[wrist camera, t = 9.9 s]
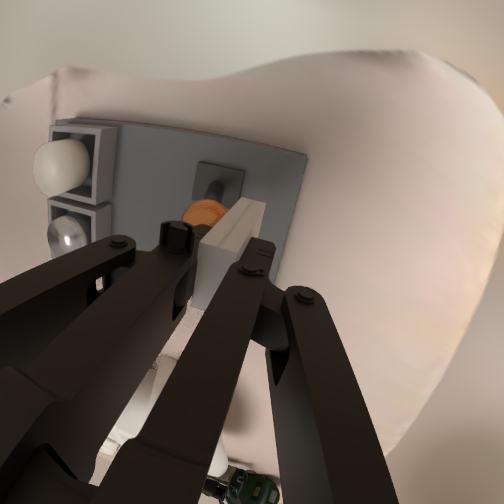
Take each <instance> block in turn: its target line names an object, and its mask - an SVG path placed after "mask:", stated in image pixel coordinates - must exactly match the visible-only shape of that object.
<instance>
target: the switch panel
mask: <svg viewBox="0 0 504 504" xmlns="http://www.w3.org/2000/svg"><path fill="white" fill-rule="evenodd" d="M69 138H75V139H78V140H80V141H81V142H82V143H83V144H84V145H85V147H86V148H87V151H88V153H89V158H90V170H89V174H88V177H87V179H86V180H85V182H84V183H83V184H82V185H80V186H79V187H76V188H74V189H71V190H69V191H66V192H64V193H61V194H59V195H56V196H53V197H51V198H49V199H47V201H48V222H49V225H50V223H51V222H52V221H53V220H55V219H57V218H59V217H61V216H63V215H65V214H67V213H69V212H71V211H74V212H78V213H82V214H85V215H89V216H91V235H92V243H93V242H95V241H98V240H100V239H103V238H105V237H108V236H112V235H118V234H120V235H126V236H128V237H131V238H133V239H134V240H135V241H136V250H141V251H152V250H153V249H154V248H155V247H156V246H158V245H159V237H160V226H161V223H162V222H165V221H170V220H176V221H180V220H181V217H182V214H183V212H184V211H185V209H186V208H187V207H188V206H189V205H190V204H192V203H193V202H195V201H197V200H201V199H203V198H204V195H205V193H206V190H207V188H208V185H209V184H210V183H211V182H212V181H220V182H221V183H222V184H223V185H224V194H223V200H222V205H223V206H225V207H226V209H227V210H228V211H229V210H230V209H231V208H232V207H233V206H234V205H235V204H236V203H237V202H238V201H239V200H240V198H241V197H244V198H248V199H252V200H256V201H259V202H263V203H266V206H265V210H264V214H263V218H262V222H261V226H260V231H259V235H258V238H259V239H263V240H266V241H270V242H273V243H274V245H275V247H276V252H275V255H274V259H273V263H272V266H271V270H270V273H269V279H270V281H271V282H272V284H273V283H274V279H275V276H276V272H277V269H278V265H279V262H280V258H281V255H282V251H283V248H284V244H285V241H286V237H287V234H288V230H289V226H290V223H291V219H292V215H293V212H294V208H295V204H296V201H297V197H298V193H299V189H300V186H301V182H302V178H303V174H304V170H305V167H306V163H307V155H304V154H301V153H297V152H293V151H289V150H285V149H281V148H277V147H273V146H269V145H264V144H260V143H255V142H251V141H246V140H241V139H237V138H232V137H227V136H221V135H216V134H211V133H205V132H199V131H193V130H187V129H180V128H173V127H166V126H159V125H151V124H142V123H133V122H123V121H112V120H99V119H82V118H71V119H61V120H56V125H51V126H50V129H49V142H53V141H58V140H64V139H69ZM51 256H52V258H53V259H55V258H57V257H56V256H55V255H54V253H53V252H52V250H51Z"/></svg>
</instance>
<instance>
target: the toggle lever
mask: <svg viewBox="0 0 504 504" xmlns="http://www.w3.org/2000/svg"><path fill="white" fill-rule="evenodd" d="M223 194H224V185H223V184H222V183H221V182H220V181H212V182H211V183H210V184H209V185H208V188H207V190H206V193H205V195H204V198H203V199H201V200H197V201H195V202H193V203H192V204H190V205H189V206H188V207H187V208H186V209H185V211H184V212H183V214H182V217H181V220H180V221H183V222H187V223H190V224H192V225H193V226H196V225H199V224H204V225H208V226H212V227H214V226H215V225H216V224H217V223H218V221H219V220H220V219H221V218H222V217H223V216H224V215H225V214H226V213H227V212H228V210H227V209H226V207H225V206H223V205H222V200H223Z"/></svg>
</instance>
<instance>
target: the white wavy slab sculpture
mask: <svg viewBox="0 0 504 504" xmlns="http://www.w3.org/2000/svg"><path fill="white" fill-rule="evenodd" d="M176 363H177V362H176V361H175V360H174V359H172V358H170V357H168V356H164V355H161V358H160V362H159V365H158V369H157V370H155V369H152V368H150V369H149V371H148V372H147V374H146V375H145V377H144V378H143V380H142V382H141V383H140V385H139V386H138V388H137V390H136V391H135V393H134V394H133V396H132V398H131V399H130V401H129V402H128V404H127V406H126V407H125V409H124V411H123V412H122V414H121V415H120V417H119V419H118V420H117V422H116V423H115V425H114V427H113V428H112V430H111V432H110V433H109V435H108V438H110V439H113V440H115V441H116V442H118V443H119V444H120V445H121V446H122V445H123V444H124V443H125V442H126V441H127V440H128V439H130V438H134V437H136V436H137V435H138V433H139V432H140V430H141V428H142V426H143V425H144V423H145V421H146V419H147V417H148V415H149V413H150V411H151V410H152V408H153V406H154V404H155V402H156V400H157V398H158V396H159V395H160V393H161V391H162V389H163V387H164V385H165V383H166V382H167V380H168V378H169V376H170V374H171V372H172V371H173V369H174V367H175V365H176ZM227 468H228V458H227V455H226V451H225V448H224V444H223V441H222V437H221V435H220V438H219V441H218V444H217V447H216V450H215V453H214V457H213V460H212V463H211V466H210V469H209V472H208V475H211V476H215V477H220V476H221V475H223V474H224V473H225V472H226V470H227Z"/></svg>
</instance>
